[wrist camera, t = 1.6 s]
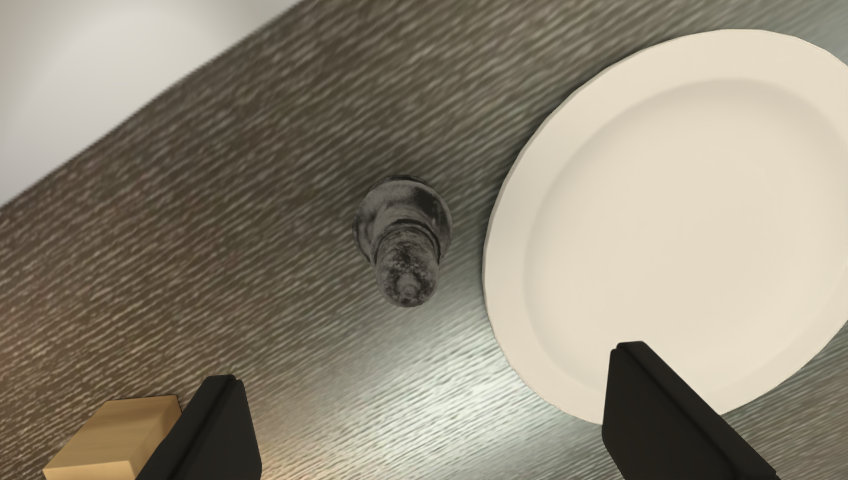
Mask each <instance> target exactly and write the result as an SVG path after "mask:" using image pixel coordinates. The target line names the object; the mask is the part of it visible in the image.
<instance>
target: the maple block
mask: <svg viewBox="0 0 848 480" xmlns="http://www.w3.org/2000/svg"><path fill="white" fill-rule="evenodd" d="M181 414H182V413H181V410H180V406H179V403H178V400H177V396H176V395H168V396H157V397H146V398H135V399H124V400H113V401H106V402H105V403H104V404H103V405H102V406H101V407H100V408H99V409H98V411H97V412H96V413H95V414H94V415H93V416H92V417H91V418H90V419H89V420H88V421H87V422H86V423H85V424H84V426H83V427H82V428H81V429H80V430H79V431H78V432H77V433H76V434H75V435H74V436H73V437H72V438H71V439H70V441H69V442H68V443H67V444H66V445H65V446H64V447H63V448H62V449H61V450H60V451H59V452H58V453H57V454H56V456H55V457H54V458H53V459H52V460H51V461H50V462H49V463H48V464H47V465H46V466H45V467H44V468H43V472H44V474H45V477H46V479H47V480H135V479H136V477H137V476H138V474H139V473H140V471H141V470H142V468H143V467H144V465H145V464H146V462H147V461H148V460H149V458H150V457H151V455H152V454H153V452H154V451H155V449H156V448H157V446H158V445H159V444H160V443H161V441H162V440H163V439H165V438H166V436H167V435H168V433H169V432H170V430H171V429H172V427H173V426H174V424H175V423H176V421H177V420H178V418H179V417H180V415H181Z"/></svg>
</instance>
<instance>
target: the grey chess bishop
mask: <svg viewBox="0 0 848 480" xmlns="http://www.w3.org/2000/svg"><path fill="white" fill-rule="evenodd" d="M352 229H353V239H354V242H355V245H356V247H357V250H358V252H359V253H360V255H361V256H362V257H363V259H364V260H365V261H366V262H367V263H368V264H369V265H371V266H372V267H373V269H374V271H375V272H376V283H377V286H378V289H379V291H380V293H381V294H382V295H383V297H384V298H385V299H386V300H387V301H389V302H390V303H391V304H394V305H396V306H399V307H405V308H407V307H415V306H418V305H421V304H423V303H424V302H426V301H428V300H429V299H430V298H431V297H432V296H433V294H434V293H435V291H436V289H437V286H438V282H439V278H440V273H439V267H438V265H439V262H440V260H441V259H442V258H443V257H444V255H445V254H446V252H447V250H448V248H449V247H450V244H451V240H452V236H453V220H452V217H451V213H450V210H449V208H448V206H447V205H446V203H445V202H444V200H443V198H442V197H441V196H440V195H438V194H437V193H436V192H435V191H434V190H433V189H432V188H431V187H430V186H429V185H428V184H427V183H426V182H424V181H422V180H420V179H418V178H416V177H413V176H408V175H393V176H390V177H387V178H384V179H382V180H381V181H379V182H378V183H376V184H375V185H374V186H373V187H372V188H371V189H370V190H369V192H368V193H367V195H366V197H365V198H364V199H363V200H362V201H361V202H360V204H359V206H358V208H357V210H356V213H355V215H354V221H353V226H352Z"/></svg>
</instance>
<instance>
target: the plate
mask: <svg viewBox="0 0 848 480" xmlns="http://www.w3.org/2000/svg"><path fill="white" fill-rule="evenodd" d="M482 284H483V292H484V301H485V308H486V311H487V315H488V318H489V321H490V324H491V328H492V331H493V334H494V336H495V339H496V341H497V342H498V344H499V346H500V348H501V350H502V352H503V354H504V356H505V358H506V360H507V361H508V363H509V364H510V366H511V367H512V368H513V369H514V371H515V372H516V373H517V374H518V376H519V377H520V378H521V380H522V381H523V382H524V383H525V384H526V385H527V386H528V387H530V388H531V389H532V390H533V391H534V392H535V393H536V394H538V395H539V396H540V397H541V398H542V399H544V400H545V401H547V402H548V403H550V404H552V405H553V406H555V407H557V408H558V409H560V410H562V411H563V412H565V413H568V414H570V415H573V416H575V417H578V418H580V419H583V420H586V421H588V422H592V423H597V424H601V425H602V423H603V414H604V405H605V396H606V387H607V377H608V368H609V359H610V352H611V350H612V349H616V346H617V344H618V343H620V342H631V341H643V342H645V343H646V344H647V345H648V346H649V347H650V348H651V349H652V350H653V351H654V352H655V353H656V354H657V355H658V356H659V357H660V358H661V359H662V360H663V361H665V362H666V363H667V364H668V365H669V366H670V367H671V368H672V369H673V370H674V371H675V372H676V373H677V374H678V375H679V376H680V377H681V378H682V379H683V380H684V381H685V382H686V383H687V384H688V385H689V386H690V387H691V388H692V389H693V390H694V391H695V392H696V393H697V394H698V395H699V396H700V397H701V398H702V399H703V400H704V401H705V402H706V403H707V404H708V405H709V406H710V407H711V408H712V409H713V410H714V411H715V412H716V413H717V414H718V415H721V414H723V413H726V412H728V411H730V410H733V409H735V408H737V407H739V406H742V405H744V404H746V403H748V402H750V401H752V400H754V399H756V398H757V397H759V396H761V395H762V394H764V393H766V392H768V391H769V390H771V389H773V388H775V387H776V386H777V385H779V384H780V383H782V382H783V381H784V380H786V379H787V378H788V377H790V376H791V375H793V374H794V373H795V372H797V371H798V370H799V369H801V368H802V367H803V366H804V365H805V364H806V363H807V362H808V361H809V360H811V359H812V358H813V357H814V356H815V355H816V354H817V353H818V352H819V351H821V350H822V349H823V348H824V347H825V345H826V344H827V343H828V342H829V341H830V340H831V339H832V338H833V336H834V335H835V334H836V333H837V332H838V331H839V330H840V329H841V327H842V326H843V325H844V324H845V322H846V321H847V320H848V66H847V65H845V64H844V63H843V62H841V61H840V60H839V59H837V58H836V57H835V56H833V55H832V54H830V53H829V52H828V51H826V50H824V49H822V48H820V47H817V46H815V45H813V44H811V43H808V42H806V41H804V40H802V39H799V38H797V37H794V36H789V35H784V34H780V33H775V32H770V31H765V30H749V29H722V30H716V31H710V32H704V33H698V34H692V35H686V36H681V37H677V38H674V39H671V40H668V41H665V42H663V43H660V44H657V45H654V46H651V47H648V48H645V49H642V50H640V51H638V52H636V53H634V54H632V55H630V56H628V57H627V58H625V59H623V60H621V61H619V62H617V63H615V64H613V65H611V66H609V67H607V68H606V69H604V70H603V71H602V72H600V73H599V74H597V75H596V76H595V77H593V78H592V79H591V80H589V81H588V82H586V83H585V84H584V85H582V86H581V87H579V88H578V89H577V90H575V91H574V92H573V93H572V94H571V95H570V96H569V97H568V98H567V99H566V100H565V101H564V102H563V103H562V104H560V105H559V106H558V107H557V108H556V109H555V110H554V111H553V112H552V113H551V114H550V115H549V116H548V117H547V118H546V119H545V120H544V122H543V123H542V124H541V125H540V127H539V128H538V129H537V131H536V132H535V133H534V134H533V136H532V137H531V138H530V140H529V141H528V142H527V143H526V145H525V146H524V147H523V149H522V150H521V152H520V153H519V155H518V157H517V159H516V160H515V162H514V164H513V166H512V168H511V169H510V171H509V173H508V175H507V176H506V178H505V180H504V182H503V184H502V187H501V189H500V192H499V194H498V197H497V200H496V202H495V205H494V207H493V210H492V212H491V215H490V220H489V224H488V229H487V233H486V238H485V243H484V247H483V266H482Z"/></svg>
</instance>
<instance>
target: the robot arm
mask: <svg viewBox="0 0 848 480" xmlns="http://www.w3.org/2000/svg"><path fill="white" fill-rule="evenodd" d="M602 439H603V442H604V445H605V447H606V449H607V450H608V452H609V454H610V455H611V457H612V459H613V460H614V462H615V464H616V465H617V467H618V469H619V470H620V472H621V474H622V475H623V477H624V479H625V480H781V479H780V478H779V477H778V476H777V475H776V471H775V470H774V469H773V468H772V467H771V466H770V465H769V464H768V463H767V462H766V461H765V460H764V459H763V458H762V457H761V456H760V455H759V454H758V453H757V452H756V451H755V450H754V449H753V448H752V447H751V446H750V445H749V444H748V443H747V442H746V441H745V440H744V439H743V438H742V437H741V436H740V435H739V434H738V433H737V432H736V431H735V430H734V429H733V428H732V427H731V426H730V425H729V424H728V423H727V422H726V421H725V420H724V419H722V418H721V417H720V416H719V415H718V414H717V413H716V412H715V411H714V410H713V409H712V408H711V407H710V406H709V405H708V404H707V403H706V402H705V401H704V400H703V399H702V398H701V397H700V396H699V395H698V394H697V393H696V392H695V391H694V390H693V389H692V388H691V387H690V386H689V385H688V384H687V383H686V382H685V381H684V380H683V379H682V378H681V377H680V376H679V375H678V374H677V373H676V372H675V371H674V370H673V369H672V368H671V367H670V366H669V365H668V364H667V363H666V362H665V361H663V360H662V359H661V358H660V357H659V356H658V355H657V354H656V353H655V352H654V351H653V350H652V349H651V348H650V347H649V346H648V345H647V344H646V343H645V342H643V341H631V342H620V343H618V344H617V346H616V349H612V350H611V352H610V359H609V368H608V377H607V387H606V396H605V405H604V414H603V423H602ZM261 473H262V462H261V458H260V453H259V449H258V445H257V440H256V436H255V432H254V427H253V423H252V419H251V414H250V410H249V406H248V401H247V397H246V393H245V388H244V384H243V382H242V380H236V378H235V376H234V375H232V374H229V375H217V376H209V377H207V378H206V379H205V380H204V381H203V383H202V384H201V386H200V387H199V389H198V390H197V392H196V393H195V395H194V396H193V398H192V399H191V401H190V402H189V404H188V405H187V407H186V408H185V410H184V411H183V412H182V414H181V415H180V417H179V418H178V420H177V421H176V423H175V424H174V426H173V427H172V429H171V430H170V432H169V433H168V435H167V436H166V438H165V439H163V440H162V441H161V443H160V444H159V445H158V446H157V448H156V449H155V451H154V452H153V454H152V455H151V457H150V458H149V460H148V461H147V462H146V464H145V465H144V467H143V468H142V470H141V471H140V473H139V474H138V476H137V477H136V479H135V480H260V478H261Z"/></svg>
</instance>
